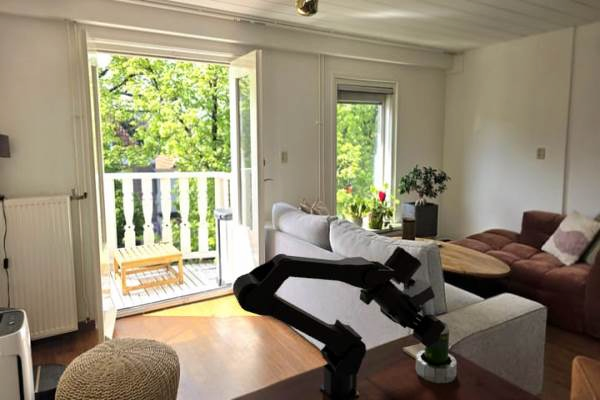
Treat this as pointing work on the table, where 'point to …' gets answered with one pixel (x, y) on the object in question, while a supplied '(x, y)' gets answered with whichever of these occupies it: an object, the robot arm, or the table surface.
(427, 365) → the ring holder
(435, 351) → the beer can
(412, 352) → the cork coaster
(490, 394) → the table surface
